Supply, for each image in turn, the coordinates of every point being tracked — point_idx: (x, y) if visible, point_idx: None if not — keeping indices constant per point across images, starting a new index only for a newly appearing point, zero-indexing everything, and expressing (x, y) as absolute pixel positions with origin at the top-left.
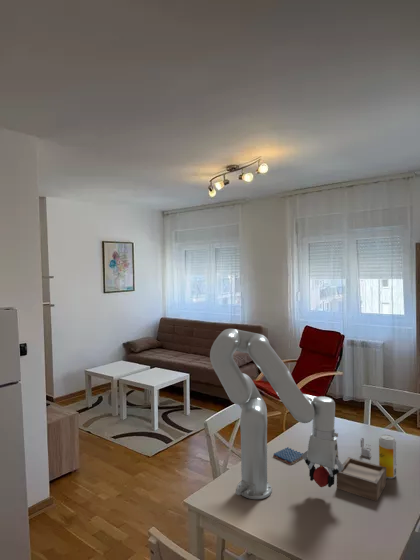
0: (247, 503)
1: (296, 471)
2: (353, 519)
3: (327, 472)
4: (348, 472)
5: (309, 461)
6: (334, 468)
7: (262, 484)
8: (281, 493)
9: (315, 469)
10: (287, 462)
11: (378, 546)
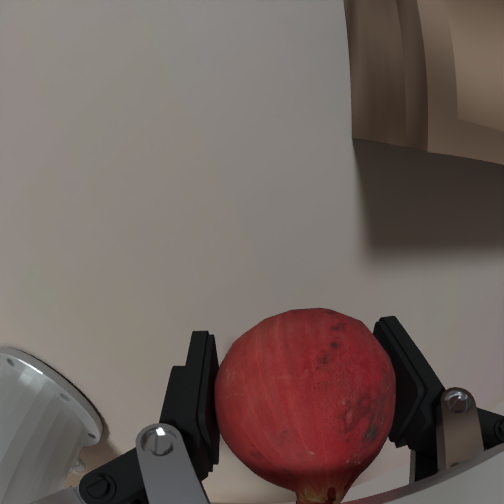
0: (97, 450)
1: (12, 126)
2: (454, 362)
3: (385, 440)
4: (473, 38)
5: (127, 490)
6: (478, 438)
7: (72, 455)
8: (109, 384)
9: (236, 456)
10: None
11: (490, 399)
